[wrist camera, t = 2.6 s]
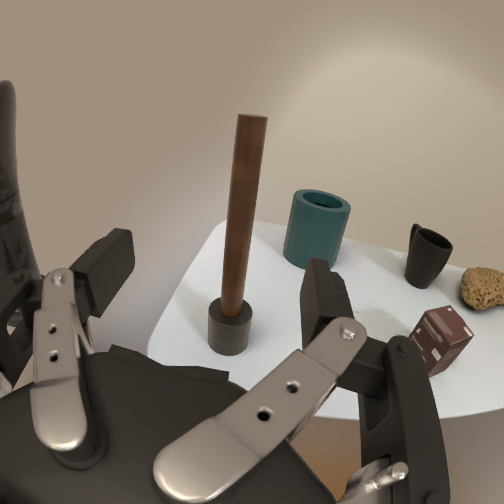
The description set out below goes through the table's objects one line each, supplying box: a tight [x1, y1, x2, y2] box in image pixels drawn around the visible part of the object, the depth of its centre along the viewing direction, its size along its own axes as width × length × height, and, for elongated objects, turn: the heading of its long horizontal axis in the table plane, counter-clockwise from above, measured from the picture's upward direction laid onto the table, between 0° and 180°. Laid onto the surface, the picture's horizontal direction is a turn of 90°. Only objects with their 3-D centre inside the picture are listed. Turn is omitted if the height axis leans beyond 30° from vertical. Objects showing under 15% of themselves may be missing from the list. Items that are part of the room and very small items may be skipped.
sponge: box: [461, 267, 504, 310], centre depth 41 cm, size 13×8×20 cm
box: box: [408, 305, 474, 377], centre depth 28 cm, size 6×6×7 cm
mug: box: [405, 224, 453, 289], centre depth 46 cm, size 8×12×10 cm
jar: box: [283, 189, 351, 270], centre depth 47 cm, size 10×10×11 cm
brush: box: [208, 114, 268, 356], centre depth 25 cm, size 5×5×24 cm
